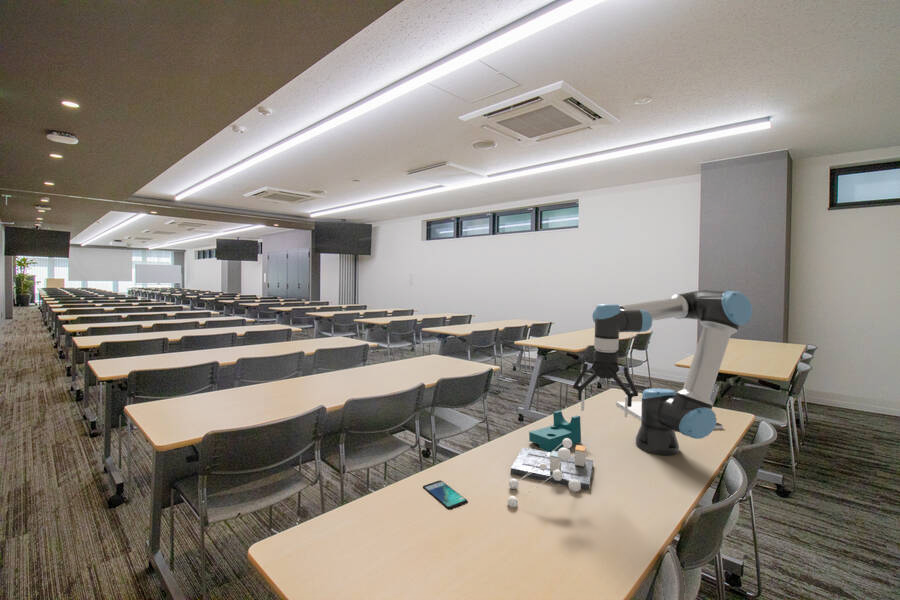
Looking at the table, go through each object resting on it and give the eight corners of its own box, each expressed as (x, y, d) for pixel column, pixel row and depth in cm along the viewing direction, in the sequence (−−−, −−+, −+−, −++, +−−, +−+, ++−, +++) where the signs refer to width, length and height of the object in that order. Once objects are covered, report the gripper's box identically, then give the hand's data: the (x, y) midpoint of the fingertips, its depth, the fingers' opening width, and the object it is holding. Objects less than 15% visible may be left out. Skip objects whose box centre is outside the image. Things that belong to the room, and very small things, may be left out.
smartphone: (440, 479, 128) (469, 501, 115) (440, 481, 128) (469, 503, 115) (421, 485, 124) (449, 508, 111) (421, 488, 124) (449, 511, 111)
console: (592, 465, 139) (593, 460, 139) (589, 490, 123) (589, 484, 123) (522, 452, 149) (522, 447, 149) (510, 473, 133) (510, 467, 133)
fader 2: (585, 461, 137) (585, 446, 137) (584, 466, 134) (584, 450, 133) (576, 459, 139) (576, 444, 138) (574, 464, 135) (575, 449, 135)
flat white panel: (722, 424, 176) (658, 426, 173) (722, 430, 177) (657, 432, 173) (670, 400, 211) (616, 401, 208) (670, 405, 211) (615, 406, 208)
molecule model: (589, 509, 117) (599, 461, 111) (508, 516, 114) (513, 468, 108) (570, 472, 130) (578, 428, 124) (496, 478, 127) (500, 433, 121)
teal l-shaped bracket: (560, 435, 168) (559, 410, 168) (581, 442, 159) (580, 416, 159) (529, 444, 158) (528, 418, 158) (550, 452, 149) (549, 424, 149)
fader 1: (560, 468, 132) (561, 452, 132) (559, 473, 129) (559, 457, 128) (551, 466, 134) (552, 450, 133) (549, 471, 130) (550, 455, 130)
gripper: (647, 351, 130) (644, 415, 131) (568, 345, 140) (567, 404, 141) (648, 355, 123) (645, 422, 124) (565, 348, 133) (564, 410, 134)
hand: (603, 412), depth 133 cm, fingers open, 13 cm apart
